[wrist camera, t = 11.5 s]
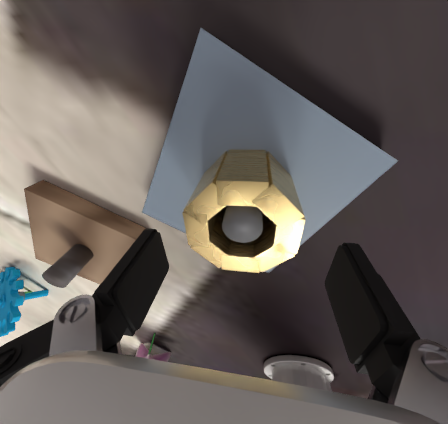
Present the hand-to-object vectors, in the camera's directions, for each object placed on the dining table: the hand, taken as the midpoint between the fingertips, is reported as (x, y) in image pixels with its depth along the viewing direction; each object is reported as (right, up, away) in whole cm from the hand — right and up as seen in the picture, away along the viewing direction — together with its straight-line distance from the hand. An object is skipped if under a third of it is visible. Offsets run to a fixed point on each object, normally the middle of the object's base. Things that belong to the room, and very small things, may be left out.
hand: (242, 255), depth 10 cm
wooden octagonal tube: (+1, +4, +5) cm, 6 cm away
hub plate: (+1, +5, +6) cm, 8 cm away
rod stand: (-17, -1, +14) cm, 22 cm away
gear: (-35, -9, +23) cm, 43 cm away
